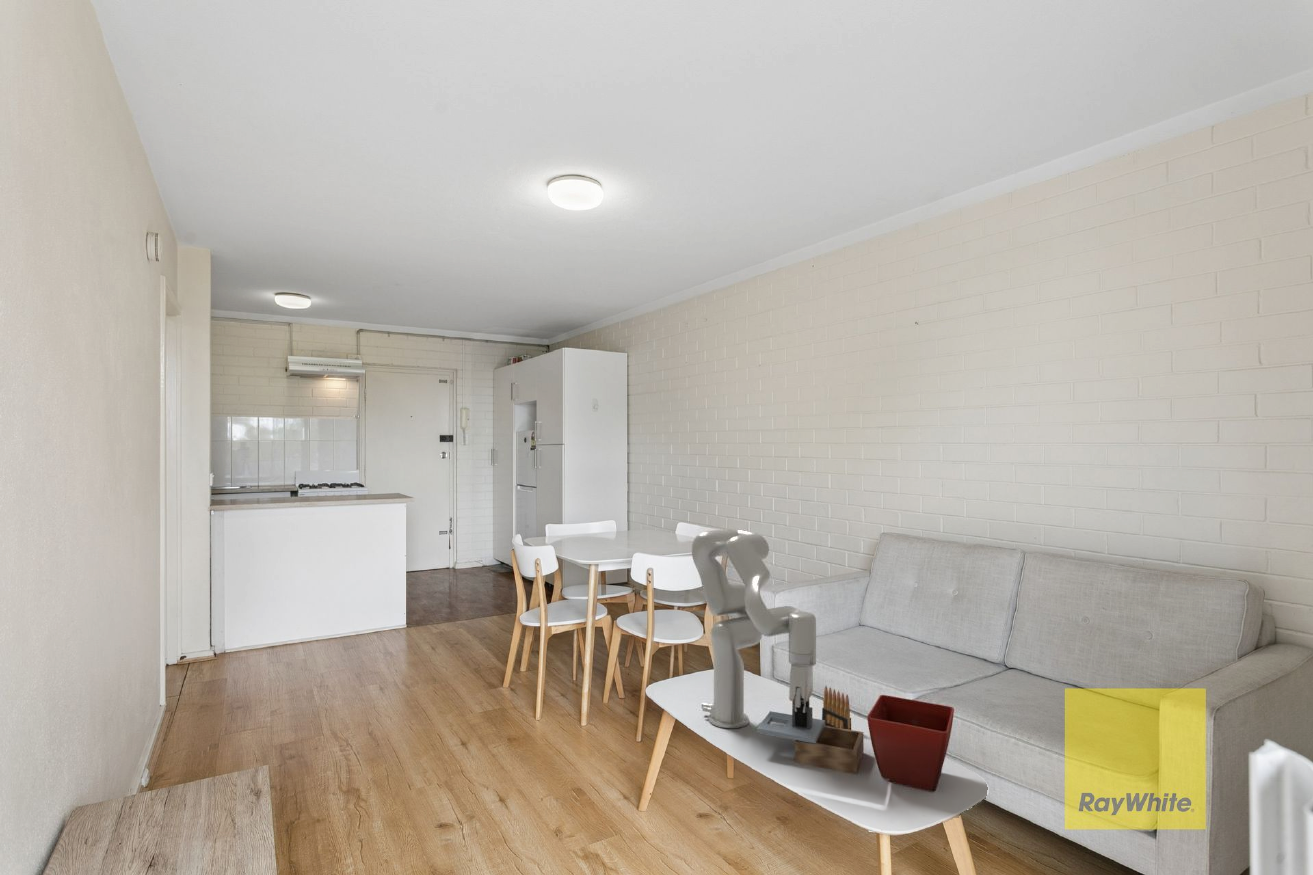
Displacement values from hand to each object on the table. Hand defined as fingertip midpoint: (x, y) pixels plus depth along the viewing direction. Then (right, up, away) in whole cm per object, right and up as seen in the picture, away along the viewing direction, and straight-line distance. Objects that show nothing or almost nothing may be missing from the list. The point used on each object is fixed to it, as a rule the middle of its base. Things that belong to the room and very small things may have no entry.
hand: (802, 723), depth 185 cm
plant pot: (+26, -9, -12) cm, 30 cm away
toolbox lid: (-3, -2, +1) cm, 4 cm away
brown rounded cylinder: (+2, -10, +14) cm, 17 cm away
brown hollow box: (+7, -9, -3) cm, 12 cm away
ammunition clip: (+15, -10, +18) cm, 25 cm away
